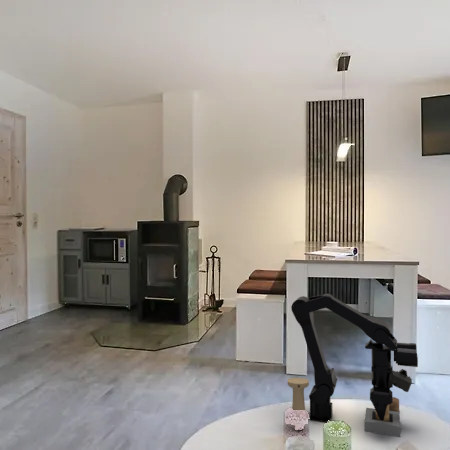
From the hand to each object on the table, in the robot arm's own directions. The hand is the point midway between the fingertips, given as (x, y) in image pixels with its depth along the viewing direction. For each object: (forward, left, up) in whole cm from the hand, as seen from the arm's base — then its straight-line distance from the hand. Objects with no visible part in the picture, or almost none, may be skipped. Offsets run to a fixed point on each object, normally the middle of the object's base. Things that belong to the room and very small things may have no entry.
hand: (382, 413), depth 131 cm
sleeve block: (0, 0, -4) cm, 4 cm away
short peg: (+3, +12, -4) cm, 13 cm away
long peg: (0, 0, -4) cm, 4 cm away
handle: (-24, -10, -4) cm, 26 cm away
